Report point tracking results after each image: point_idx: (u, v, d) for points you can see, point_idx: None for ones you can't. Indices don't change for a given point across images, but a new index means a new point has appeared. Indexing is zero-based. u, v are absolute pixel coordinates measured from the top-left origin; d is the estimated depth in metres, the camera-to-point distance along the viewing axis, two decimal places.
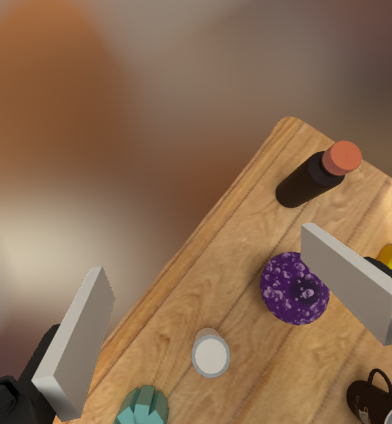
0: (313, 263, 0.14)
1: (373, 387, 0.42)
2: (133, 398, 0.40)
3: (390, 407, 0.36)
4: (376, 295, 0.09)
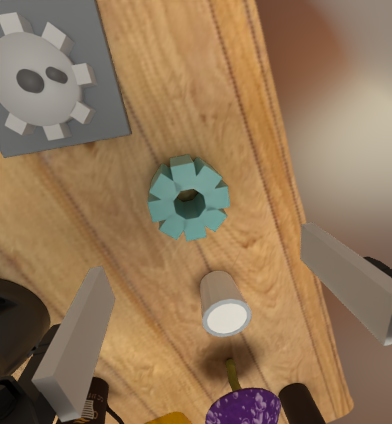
0: (313, 263, 0.14)
1: None
2: None
3: None
4: (376, 295, 0.09)
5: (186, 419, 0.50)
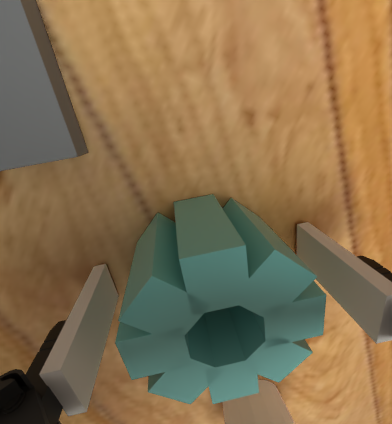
0: (309, 262, 0.14)
1: None
2: None
3: None
4: (369, 293, 0.10)
5: None
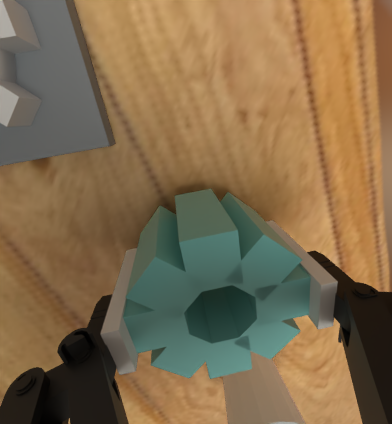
0: None
1: None
2: None
3: None
4: (310, 284, 0.11)
5: None
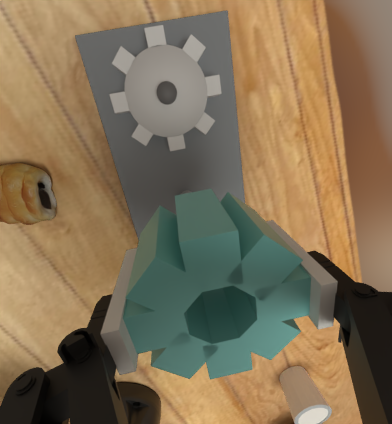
0: None
1: None
2: None
3: None
4: None
5: None
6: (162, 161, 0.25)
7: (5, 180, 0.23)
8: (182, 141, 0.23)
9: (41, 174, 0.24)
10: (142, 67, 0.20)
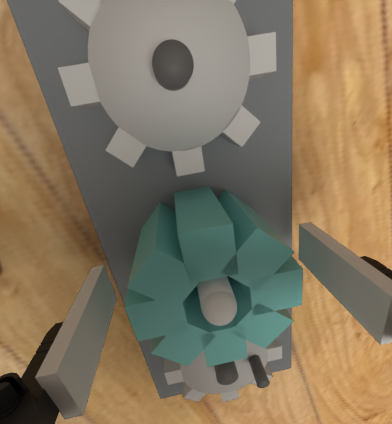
0: (311, 263, 0.14)
1: None
2: None
3: None
4: (373, 294, 0.09)
5: None
6: (162, 189, 0.15)
7: None
8: (199, 159, 0.12)
9: None
10: (123, 12, 0.10)
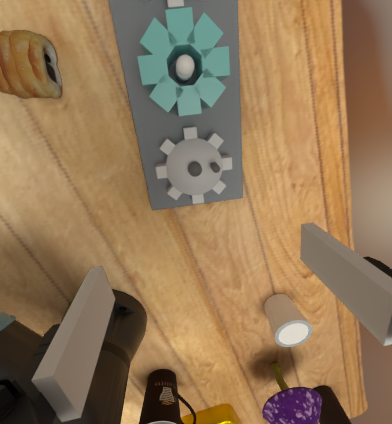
0: (313, 263, 0.14)
1: None
2: (222, 79, 0.25)
3: None
4: (376, 295, 0.09)
5: (233, 410, 0.60)
6: None
7: (12, 40, 0.24)
8: None
9: (46, 42, 0.25)
10: None
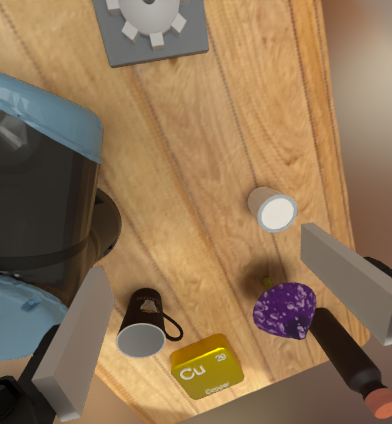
0: (313, 263, 0.14)
1: None
2: None
3: (165, 336, 0.40)
4: (376, 295, 0.09)
5: (228, 341, 0.56)
6: None
7: None
8: None
9: None
10: None
